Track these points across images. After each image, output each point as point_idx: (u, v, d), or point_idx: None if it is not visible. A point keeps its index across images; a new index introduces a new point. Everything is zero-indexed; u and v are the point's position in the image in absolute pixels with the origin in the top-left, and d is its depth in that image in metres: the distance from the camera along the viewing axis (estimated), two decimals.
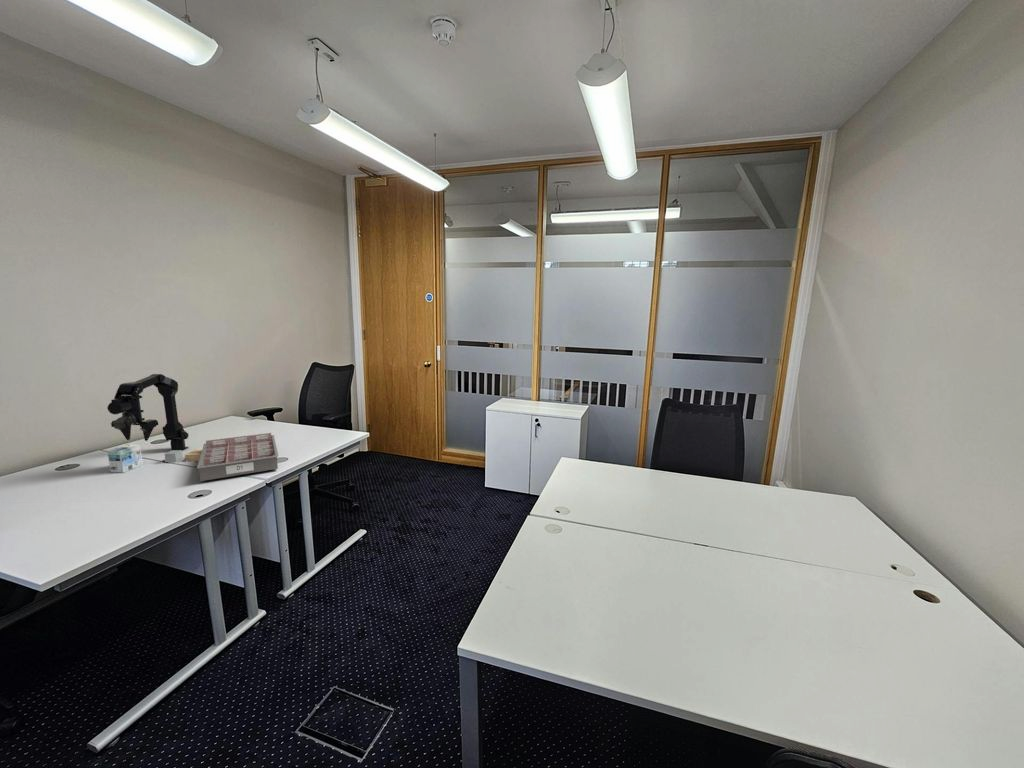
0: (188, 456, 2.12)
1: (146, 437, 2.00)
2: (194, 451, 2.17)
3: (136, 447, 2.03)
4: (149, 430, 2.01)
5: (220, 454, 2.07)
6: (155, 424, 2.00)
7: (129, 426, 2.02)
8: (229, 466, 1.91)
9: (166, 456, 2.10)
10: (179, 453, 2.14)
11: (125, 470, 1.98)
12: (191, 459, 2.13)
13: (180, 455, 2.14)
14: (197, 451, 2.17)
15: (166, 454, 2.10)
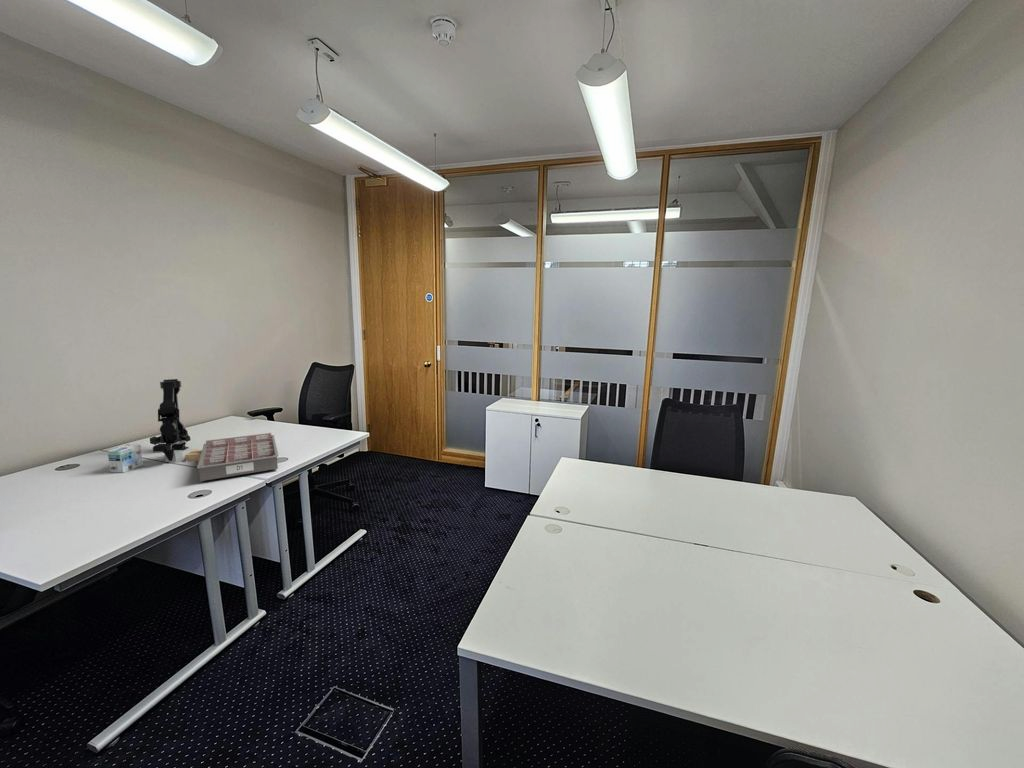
0: (188, 456, 2.12)
1: (168, 458, 2.10)
2: (194, 451, 2.17)
3: (136, 447, 2.03)
4: (169, 452, 2.08)
5: (220, 454, 2.07)
6: (160, 450, 2.03)
7: (181, 445, 2.15)
8: (229, 466, 1.91)
9: None
10: (179, 453, 2.14)
11: (125, 470, 1.98)
12: (191, 459, 2.13)
13: (180, 455, 2.14)
14: (197, 451, 2.17)
15: None
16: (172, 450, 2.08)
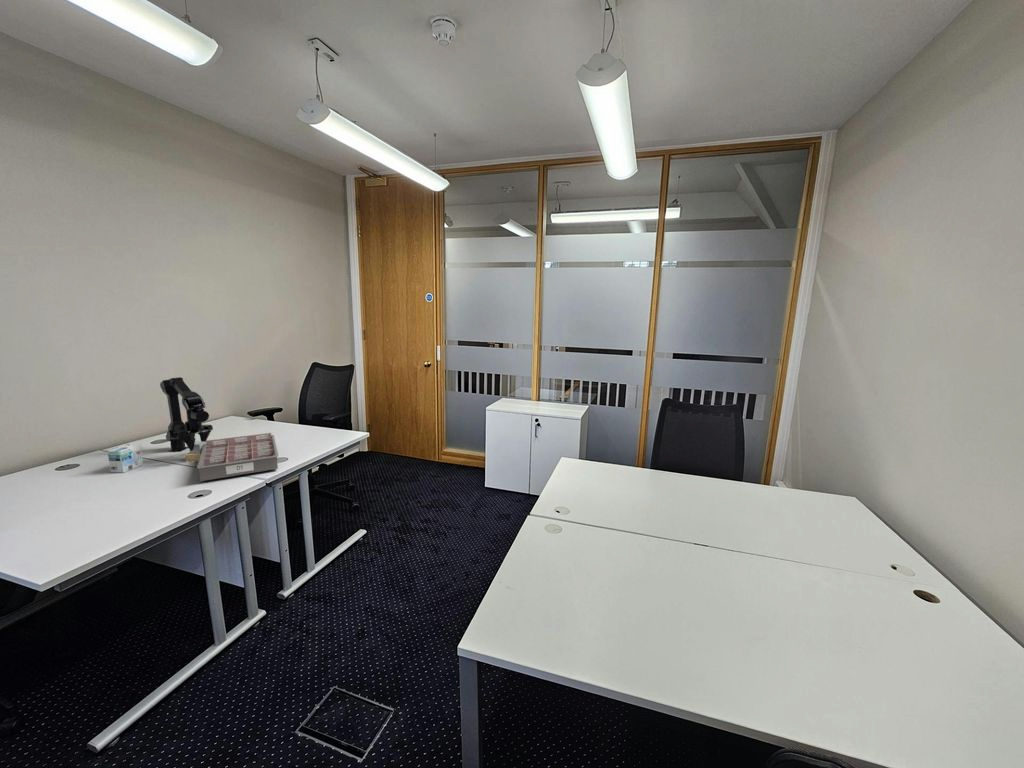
0: (189, 456, 2.12)
1: (190, 448, 2.11)
2: None
3: (136, 447, 2.03)
4: (190, 442, 2.09)
5: (220, 454, 2.07)
6: (185, 438, 2.06)
7: (206, 433, 2.20)
8: (229, 466, 1.91)
9: None
10: (203, 444, 2.17)
11: (125, 470, 1.98)
12: (192, 459, 2.13)
13: None
14: None
15: None
16: (193, 440, 2.09)
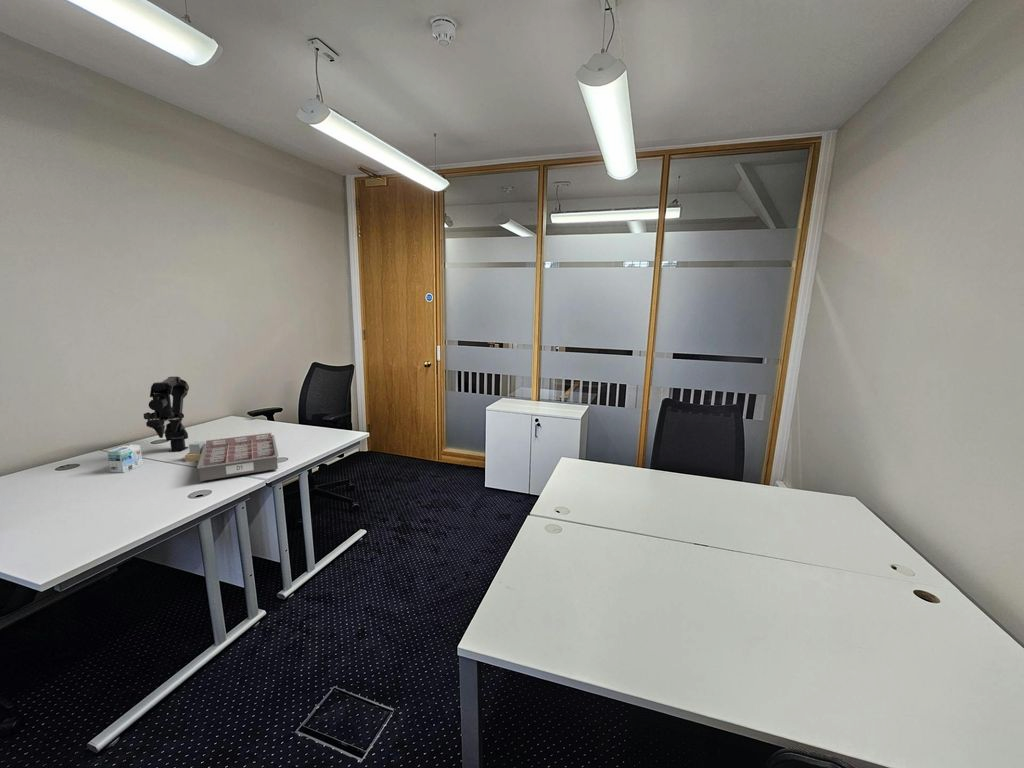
0: (188, 456, 2.12)
1: (159, 435, 2.11)
2: None
3: (136, 447, 2.03)
4: (160, 429, 2.10)
5: (220, 454, 2.07)
6: (154, 425, 2.06)
7: (177, 421, 2.21)
8: (229, 466, 1.91)
9: (190, 447, 2.13)
10: (203, 444, 2.17)
11: (125, 470, 1.98)
12: (192, 459, 2.13)
13: None
14: None
15: (190, 445, 2.13)
16: (163, 427, 2.10)
